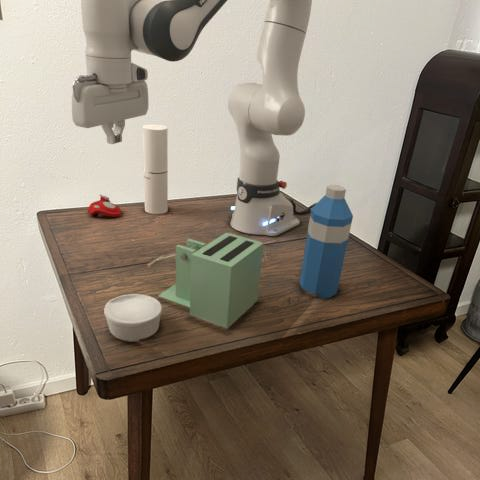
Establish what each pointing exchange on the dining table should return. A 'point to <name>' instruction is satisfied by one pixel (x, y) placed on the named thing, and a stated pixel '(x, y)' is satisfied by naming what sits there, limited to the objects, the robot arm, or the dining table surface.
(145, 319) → the ramekin
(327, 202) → the water bottle
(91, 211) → the tracker holder
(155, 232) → the dining table surface
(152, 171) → the cylindrical container
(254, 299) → the toaster
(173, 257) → the lever
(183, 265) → the switch bracket
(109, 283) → the dining table surface
